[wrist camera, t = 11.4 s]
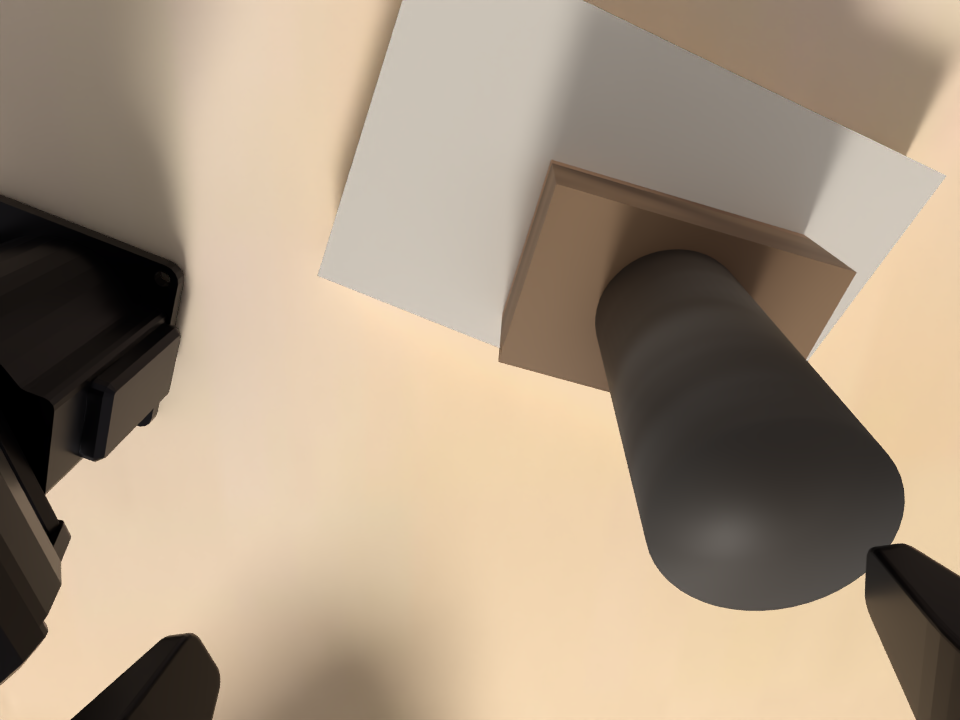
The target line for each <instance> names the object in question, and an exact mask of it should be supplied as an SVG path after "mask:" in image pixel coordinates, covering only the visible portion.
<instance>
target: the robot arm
mask: <svg viewBox="0 0 960 720" xmlns="http://www.w3.org/2000/svg"><path fill="white" fill-rule="evenodd" d="M161 272H165V273H166V274H168V276H169V277H170V282H167V281H165V280H164V279H163V278H162V276H161ZM183 283H184V274H183V272H182V270H181V268H180V267H179V266H178V265H177V264H175V263H174V262H172V261H170V260H167V259H164V258H162V257H159V256H157V255H154V254H152V253H149V252H146V251H144V250H141V249H139V248H136V247H134V246H131V245H128V244H126V243H123V242H121V241H118V240H116V239H113V238H110V237H108V236H105V235H103V234H100V233H98V232H95V231H93V230H90V229H87V228H85V227H82V226H80V225H77V224H75V223H72V222H69V221H67V220H64V219H62V218H59V217H57V216H54V215H51V214H49V213H46V212H44V211H41V210H39V209H36V208H33V207H31V206H28V205H26V204H23V203H21V202H18V201H15V200H13V199H10V198H8V197H5V196H3V195H0V685H1V684H3V683H4V682H5V681H6V680H7V679H8V678H9V677H10V676H12V675H13V674H14V673H15V672H16V671H17V670H18V669H19V668H20V667H21V666H22V665H23V664H24V663H25V662H26V660H27V659H28V658H29V657H30V656H31V654H32V653H33V652H34V651H35V650H36V649H37V647H38V646H39V645H40V644H41V642H42V641H43V640H44V638H45V637H46V635H47V633H48V627H47V625H46V623H45V622H44V620H45V618H46V617H47V615H48V613H49V611H50V609H51V606H52V604H53V602H54V600H55V598H56V595H57V593H58V591H59V589H60V587H61V561H62V558H63V556H64V553H65V551H66V549H67V546H68V544H69V541H70V539H71V535H70V533H69V531H68V529H67V527H66V525H65V523H64V521H62V520H58V519H57V517H56V515H55V513H54V511H53V509H52V507H51V506H50V504H49V502H48V500H47V498H46V496H45V495H46V494H47V493H48V492H49V491H50V490H51V489H52V488H53V487H54V486H55V485H56V484H57V483H58V482H59V481H60V480H61V479H62V478H63V477H64V476H65V475H66V474H67V473H68V472H69V471H70V470H71V469H72V468H73V467H74V466H75V465H76V464H77V463H78V462H79V461H80V460H82V459H83V458H86V459H88V460H91V461H94V462H96V461H99V460H101V459H103V458H105V457H107V456H108V455H109V454H110V453H111V451H112V450H113V449H114V448H115V447H116V446H117V445H118V444H119V443H120V442H121V441H122V440H123V439H124V438H125V437H126V436H127V435H128V434H129V433H130V432H131V431H132V430H133V429H134V428H135V427H136V426H146V425H148V424H149V423H150V422H151V421H152V420H153V419H154V418H155V417H156V415H157V412H158V407H159V402H160V401H161V400H162V399H163V398H164V397H165V396H166V395H167V394H168V393H169V390H170V385H171V381H172V376H173V371H174V366H175V361H176V357H177V352H178V347H179V342H180V338H181V335H180V333H179V330H178V328H177V327H175V323H176V318H177V313H178V308H179V303H180V298H181V293H182V288H183ZM865 600H866V605H867V609H868V612H869V614H870V617H871V619H872V622H873V624H874V626H875V628H876V631H877V633H878V635H879V637H880V640H881V642H882V644H883V646H884V649H885V651H886V653H887V655H888V658H889V660H890V662H891V664H892V667H893V669H894V671H895V673H896V676H897V678H898V680H899V682H900V685H901V687H902V689H903V691H904V694H905V696H906V698H907V700H908V703H909V705H910V707H911V709H912V712H913V714H914V716H915V718H916V720H960V576H959V575H957V574H956V573H954V572H952V571H951V570H949V569H948V568H946V567H944V566H943V565H941V564H940V563H938V562H936V561H935V560H933V559H931V558H930V557H928V556H927V555H925V554H923V553H922V552H920V551H919V550H917V549H915V548H914V547H912V546H909V545H907V544H892V545H884V546H876V547H872V548H870V549H869V551H868V552H867V557H866V579H865ZM219 689H220V673H219V669H218V667H217V666H216V664H215V662H214V661H213V659H212V658H211V656H210V654H209V653H208V651H207V649H206V648H205V646H204V645H203V643H202V641H201V640H200V638H199V637H198V636H197V635H195V634H193V633H185V634H177V635H170V636H167V637H165V638H163V639H161V640H160V641H159V642H158V643H157V644H156V645H154V646H153V647H152V648H151V649H150V650H149V651H148V652H147V653H145V654H144V655H143V656H142V657H141V658H140V659H139V660H137V661H136V662H135V663H134V664H133V665H132V666H131V667H130V668H128V669H127V670H126V671H125V672H124V673H123V674H122V675H121V676H119V677H118V678H117V679H116V680H115V681H114V682H113V683H112V684H110V685H109V686H108V687H107V688H106V689H105V690H104V691H103V692H101V693H100V694H99V695H98V696H97V697H96V698H95V699H93V700H92V701H91V702H90V703H89V704H88V705H87V706H86V707H84V708H83V709H82V710H81V711H80V712H79V713H78V714H77V715H75V716H74V717H73V718H72V719H71V720H212V718H213V714H214V710H215V706H216V702H217V697H218V693H219Z"/></svg>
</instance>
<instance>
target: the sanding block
mask: <svg viewBox="0 0 960 720" xmlns="http://www.w3.org/2000/svg"><path fill="white" fill-rule="evenodd" d="M856 273H857V272H856V271H854V270H853V269H851V268H850V267H849V266H847V265H846V264H844V263H843V262H842V261H840V260H839V259H838V258H836V257H835V256H833V255H832V254H831V253H829V252H828V251H826V250H825V249H824V248H822V247H821V246H819V245H818V244H817V243H815V242H814V241H812V240H811V239H810V238H808V237H807V236H805V235H804V234H800V233H797V232H794V231H790V230H787V229H784V228H780V227H777V226H773V225H770V224H767V223H763V222H760V221H757V220H753V219H750V218H746V217H743V216H740V215H736V214H733V213H730V212H726V211H723V210H720V209H716V208H713V207H709V206H706V205H703V204H699V203H696V202H693V201H689V200H686V199H683V198H679V197H676V196H672V195H669V194H666V193H662V192H659V191H656V190H652V189H649V188H645V187H642V186H639V185H635V184H632V183H629V182H625V181H622V180H619V179H615V178H612V177H608V176H605V175H602V174H598V173H595V172H592V171H588V170H585V169H581V168H578V167H575V166H571V165H568V164H565V163H561V162H558V161H555V160H551V162H550V165H549V168H548V171H547V174H546V177H545V181H544V184H543V187H542V190H541V193H540V196H539V199H538V203H537V206H536V209H535V212H534V215H533V218H532V222H531V225H530V228H529V231H528V234H527V237H526V241H525V244H524V247H523V250H522V253H521V256H520V260H519V263H518V266H517V269H516V272H515V275H514V278H513V282H512V285H511V288H510V291H509V294H508V297H507V301H506V304H505V307H504V310H503V313H502V323H501V336H500V349H499V362H501V363H505V364H508V365H512V366H516V367H519V368H523V369H527V370H530V371H534V372H538V373H541V374H545V375H549V376H552V377H556V378H560V379H563V380H567V381H571V382H574V383H578V384H582V385H585V386H589V387H593V388H596V389H600V390H604V391H607V392H610V394H611V398H612V402H613V406H614V410H615V415H616V419H617V423H618V427H619V431H620V435H621V439H622V444H623V448H624V452H625V456H626V460H627V464H628V468H629V473H630V477H631V481H632V485H633V489H634V493H635V498H636V502H637V506H638V510H639V514H640V518H641V522H642V527H643V531H644V535H645V539H646V543H647V546H648V550H649V553H650V555H651V557H652V559H653V561H654V563H655V565H656V566H657V568H658V569H659V571H660V572H661V573H662V574H663V575H664V577H665V578H666V579H667V580H668V581H669V582H670V583H672V584H673V585H674V586H676V587H677V588H678V589H679V590H681V591H683V592H684V593H686V594H688V595H689V596H691V597H693V598H696V599H698V600H700V601H703V602H705V603H708V604H712V605H715V606H719V607H724V608H729V609H736V610H746V611H765V610H777V609H783V608H789V607H794V606H798V605H802V604H806V603H809V602H812V601H815V600H818V599H820V598H823V597H825V596H828V595H830V594H832V593H834V592H836V591H838V590H840V589H842V588H843V587H845V586H847V585H849V584H850V583H852V582H853V581H855V580H856V579H857V578H859V577H860V576H862V575H863V574H864V573H865V572H866V557H867V552H868V551H869V549H870V548H872V547H876V546H884V545H890V544H891V543H892V541H893V540H894V538H895V536H896V533H897V531H898V529H899V527H900V524H901V520H902V517H903V511H904V504H905V499H904V488H903V483H902V479H901V476H900V474H899V472H898V470H897V467H896V465H895V464H894V462H893V461H892V459H891V458H890V457H889V455H888V454H887V453H886V452H885V450H884V449H883V448H882V447H881V446H880V445H879V443H878V442H877V441H876V440H875V439H874V438H873V437H872V435H871V434H870V433H869V432H868V431H867V430H866V428H865V427H864V426H863V425H862V424H861V423H860V422H859V420H858V419H857V418H856V417H855V416H854V415H853V413H852V412H851V411H850V410H849V409H848V408H847V407H846V405H845V404H844V403H843V402H842V401H841V400H840V398H839V397H838V396H837V395H836V394H835V393H834V392H833V390H832V389H831V388H830V387H829V386H828V385H827V383H826V382H825V381H824V380H823V379H822V378H821V377H820V375H819V374H818V373H817V372H816V371H815V370H814V368H813V367H812V366H811V365H810V364H809V363H808V362H807V360H806V359H807V357H808V355H809V354H810V352H811V350H812V348H813V347H814V345H815V343H816V342H817V340H818V338H819V336H820V335H821V333H822V331H823V330H824V328H825V326H826V324H827V323H828V321H829V319H830V318H831V316H832V314H833V312H834V311H835V309H836V307H837V306H838V304H839V302H840V300H841V299H842V297H843V295H844V294H845V292H846V290H847V288H848V287H849V285H850V283H851V281H852V280H853V278H854V276H855V275H856Z"/></svg>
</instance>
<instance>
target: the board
mask: <svg viewBox="0 0 960 720" xmlns="http://www.w3.org/2000/svg"><path fill="white" fill-rule="evenodd" d="M551 160H555V161H558V162H561V163H565V164H568V165H571V166H575V167H578V168H581V169H585V170H588V171H592V172H595V173H598V174H602V175H605V176H608V177H612V178H615V179H619V180H622V181H625V182H629V183H632V184H635V185H639V186H642V187H645V188H649V189H652V190H656V191H659V192H662V193H666V194H669V195H672V196H676V197H679V198H683V199H686V200H689V201H693V202H696V203H699V204H703V205H706V206H709V207H713V208H716V209H720V210H723V211H726V212H730V213H733V214H736V215H740V216H743V217H746V218H750V219H753V220H757V221H760V222H763V223H767V224H770V225H773V226H777V227H780V228H784V229H787V230H790V231H794V232H797V233H800V234H804V235H805V236H807V237H808V238H810V239H811V240H812V241H814V242H815V243H817V244H818V245H819V246H821V247H822V248H824V249H825V250H826V251H828V252H829V253H831V254H832V255H833V256H835V257H836V258H838V259H839V260H840V261H842V262H843V263H844V264H846V265H847V266H849V267H850V268H851V269H853V270H854V271H856V272H857V273H856V275H855V276H854V278H853V280H852V281H851V283H850V285H849V287H848V288H847V290H846V292H845V294H844V295H843V297H842V299H841V300H840V302H839V304H838V306H837V307H836V309H835V311H834V312H833V314H832V316H831V318H830V319H829V321H828V323H827V324H826V326H825V328H824V330H823V331H822V333H821V335H820V336H819V338H818V340H817V342H816V343H815V345H814V347H813V348H812V350H811V352H810V354H809V355H808V357H807V359H806V360H807V361H808V360H809V359H810V357H811V356H812V355H813V353H814V352H815V351H816V349H817V348H818V347H819V345H820V344H821V343H822V341H823V340H824V339H825V337H826V336H827V335H828V333H829V332H830V331H831V329H832V328H833V327H834V325H835V324H836V323H837V321H838V320H839V319H840V317H841V316H842V315H843V313H844V312H845V311H846V309H847V308H848V307H849V305H850V304H851V303H852V301H853V300H854V299H855V297H856V296H857V295H858V293H859V292H860V291H861V289H862V288H863V287H864V285H865V284H866V283H867V281H868V280H869V279H870V277H871V276H872V275H873V273H874V272H875V271H876V269H877V268H878V267H879V265H880V264H881V263H882V261H883V260H884V259H885V257H886V256H887V255H888V253H889V252H890V251H891V249H892V248H893V247H894V245H895V244H896V243H897V241H898V240H899V239H900V237H901V236H902V235H903V233H904V232H905V231H906V229H907V228H908V227H909V225H910V224H911V223H912V221H913V220H914V219H915V217H916V216H917V215H918V213H919V212H920V211H921V209H922V208H923V207H924V205H925V204H926V203H927V201H928V200H929V199H930V197H931V196H932V195H933V193H934V192H935V191H936V189H937V188H938V187H939V185H940V184H941V183H942V181H943V180H944V179H945V177H946V175H944V174H942V173H940V172H938V171H936V170H933V169H931V168H929V167H927V166H925V165H923V164H921V163H919V162H917V161H915V160H913V159H911V158H909V157H907V156H905V155H902V154H900V153H898V152H896V151H894V150H892V149H890V148H888V147H886V146H884V145H882V144H880V143H878V142H876V141H873V140H871V139H869V138H867V137H865V136H863V135H861V134H859V133H857V132H855V131H853V130H851V129H849V128H847V127H844V126H842V125H840V124H838V123H836V122H834V121H832V120H830V119H828V118H826V117H824V116H822V115H820V114H818V113H815V112H813V111H811V110H809V109H807V108H805V107H803V106H801V105H799V104H797V103H795V102H793V101H791V100H789V99H786V98H784V97H782V96H780V95H778V94H776V93H774V92H772V91H770V90H768V89H766V88H764V87H762V86H760V85H757V84H755V83H753V82H751V81H749V80H747V79H745V78H743V77H741V76H739V75H737V74H735V73H733V72H731V71H728V70H726V69H724V68H722V67H720V66H718V65H716V64H714V63H712V62H710V61H708V60H706V59H704V58H702V57H699V56H697V55H695V54H693V53H691V52H689V51H687V50H685V49H683V48H681V47H679V46H677V45H675V44H673V43H670V42H668V41H666V40H664V39H662V38H660V37H658V36H656V35H654V34H652V33H650V32H648V31H646V30H644V29H641V28H639V27H637V26H635V25H633V24H631V23H629V22H627V21H625V20H623V19H621V18H619V17H617V16H615V15H612V14H610V13H608V12H606V11H604V10H602V9H600V8H598V7H596V6H594V5H592V4H590V3H588V2H586V1H583V0H402V4H401V7H400V10H399V13H398V17H397V20H396V23H395V26H394V29H393V33H392V36H391V39H390V42H389V46H388V49H387V52H386V55H385V59H384V62H383V65H382V68H381V72H380V75H379V78H378V81H377V85H376V88H375V91H374V94H373V98H372V101H371V104H370V107H369V111H368V114H367V117H366V120H365V124H364V127H363V130H362V133H361V137H360V140H359V143H358V146H357V149H356V153H355V156H354V159H353V162H352V166H351V169H350V172H349V175H348V179H347V182H346V185H345V188H344V192H343V195H342V198H341V201H340V205H339V208H338V211H337V214H336V218H335V221H334V224H333V227H332V231H331V234H330V237H329V240H328V244H327V247H326V250H325V253H324V256H323V260H322V263H321V266H320V269H319V273H318V276H320V277H322V278H325V279H327V280H330V281H332V282H335V283H337V284H340V285H342V286H345V287H347V288H350V289H352V290H355V291H357V292H360V293H362V294H365V295H367V296H370V297H372V298H375V299H377V300H380V301H382V302H385V303H387V304H390V305H392V306H395V307H398V308H400V309H403V310H405V311H408V312H410V313H413V314H415V315H418V316H420V317H423V318H425V319H428V320H430V321H433V322H435V323H438V324H440V325H443V326H445V327H448V328H450V329H453V330H455V331H458V332H460V333H463V334H465V335H468V336H470V337H473V338H475V339H478V340H480V341H483V342H485V343H488V344H490V345H493V346H495V347H498V348H500V336H501V323H502V313H503V310H504V307H505V304H506V301H507V297H508V294H509V291H510V288H511V285H512V282H513V278H514V275H515V272H516V269H517V266H518V263H519V260H520V256H521V253H522V250H523V247H524V244H525V241H526V237H527V234H528V231H529V228H530V225H531V222H532V218H533V215H534V212H535V209H536V206H537V203H538V199H539V196H540V193H541V190H542V187H543V184H544V181H545V177H546V174H547V171H548V168H549V165H550V162H551Z"/></svg>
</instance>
